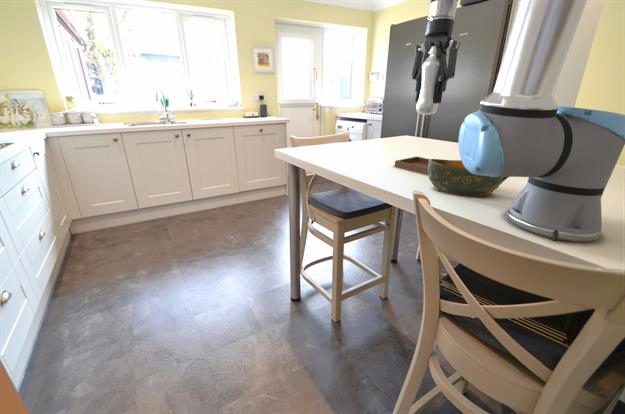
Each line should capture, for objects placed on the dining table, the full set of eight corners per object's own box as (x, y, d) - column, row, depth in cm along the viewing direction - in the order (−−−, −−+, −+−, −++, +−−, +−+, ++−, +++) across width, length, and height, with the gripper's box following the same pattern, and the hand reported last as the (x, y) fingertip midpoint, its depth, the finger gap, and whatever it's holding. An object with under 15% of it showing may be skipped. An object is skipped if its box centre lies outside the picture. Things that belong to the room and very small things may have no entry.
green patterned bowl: (502, 207, 68) (514, 166, 65) (421, 189, 81) (427, 154, 77) (511, 194, 78) (521, 158, 74) (436, 180, 90) (442, 148, 86)
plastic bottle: (438, 115, 91) (451, 45, 84) (416, 115, 92) (427, 45, 85) (433, 114, 97) (445, 48, 90) (413, 113, 98) (422, 48, 91)
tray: (450, 180, 89) (451, 173, 88) (394, 166, 105) (395, 160, 104) (470, 174, 97) (472, 167, 96) (415, 162, 113) (416, 156, 112)
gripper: (479, 16, 80) (462, 103, 88) (419, 27, 94) (409, 101, 102) (467, 11, 75) (449, 103, 84) (406, 23, 89) (396, 101, 98)
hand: (427, 102), depth 93 cm, fingers closed on plastic bottle, 6 cm apart
